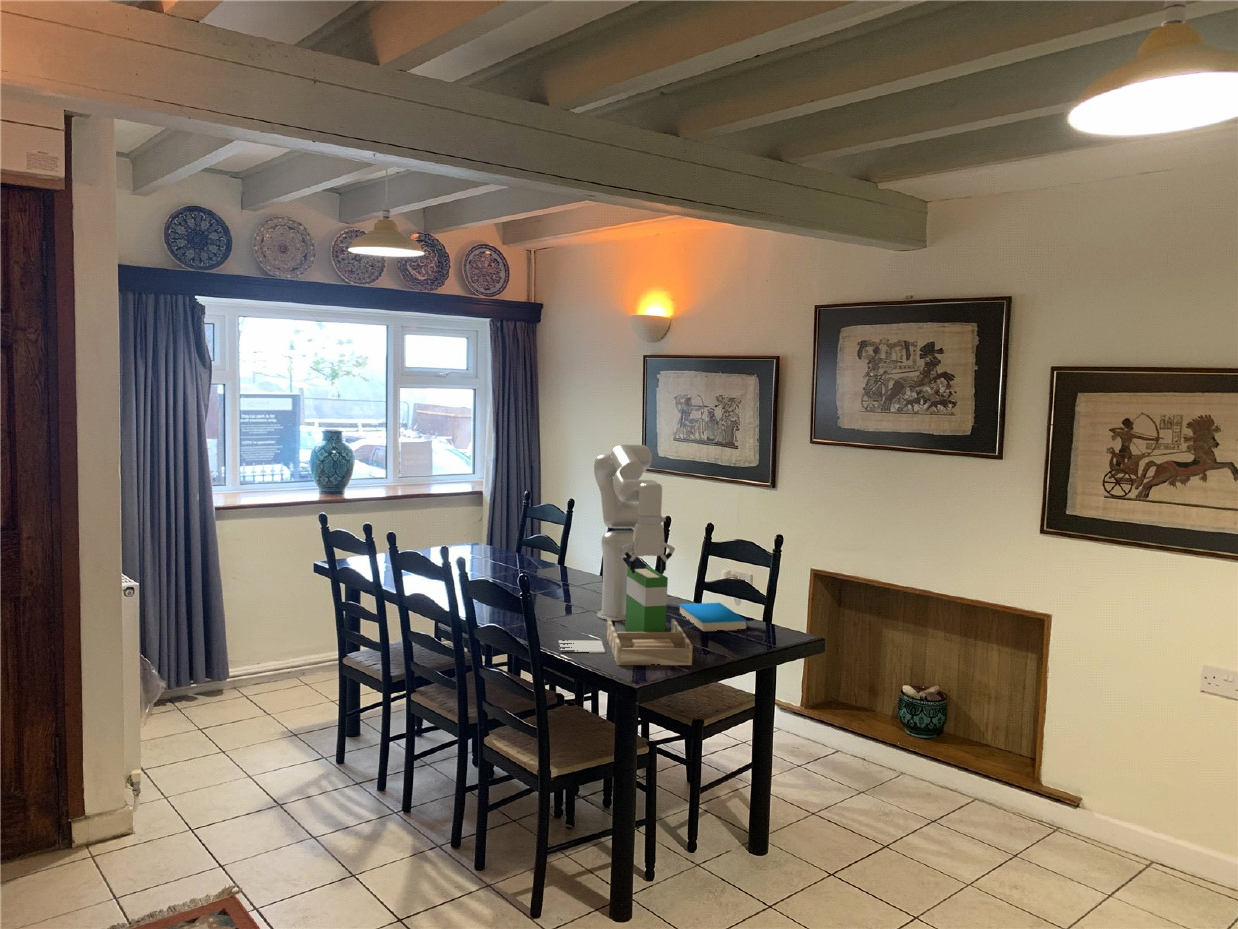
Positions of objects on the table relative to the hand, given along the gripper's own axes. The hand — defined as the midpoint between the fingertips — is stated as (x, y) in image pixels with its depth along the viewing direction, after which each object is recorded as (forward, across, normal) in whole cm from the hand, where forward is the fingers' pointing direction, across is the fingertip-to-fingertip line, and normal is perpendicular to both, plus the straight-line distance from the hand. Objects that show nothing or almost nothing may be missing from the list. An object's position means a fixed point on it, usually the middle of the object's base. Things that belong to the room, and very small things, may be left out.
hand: (647, 572), depth 294 cm
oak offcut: (+22, 0, +16) cm, 27 cm away
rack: (+24, 0, +6) cm, 25 cm away
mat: (+24, +21, +3) cm, 32 cm away
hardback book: (+24, 0, -1) cm, 24 cm away
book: (+24, -29, -30) cm, 48 cm away
